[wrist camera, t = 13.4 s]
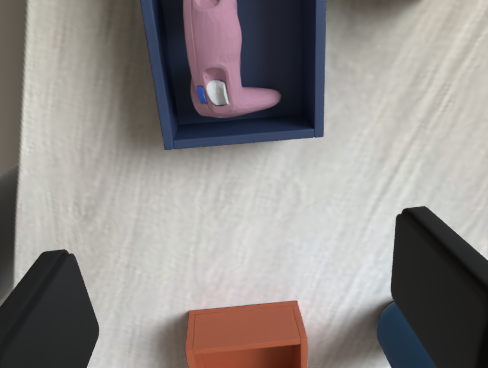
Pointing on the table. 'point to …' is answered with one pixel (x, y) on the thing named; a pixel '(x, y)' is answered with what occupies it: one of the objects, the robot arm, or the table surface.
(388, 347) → the soda can
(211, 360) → the terracotta bin
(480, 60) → the table surface
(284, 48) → the navy bin
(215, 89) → the video game controller
